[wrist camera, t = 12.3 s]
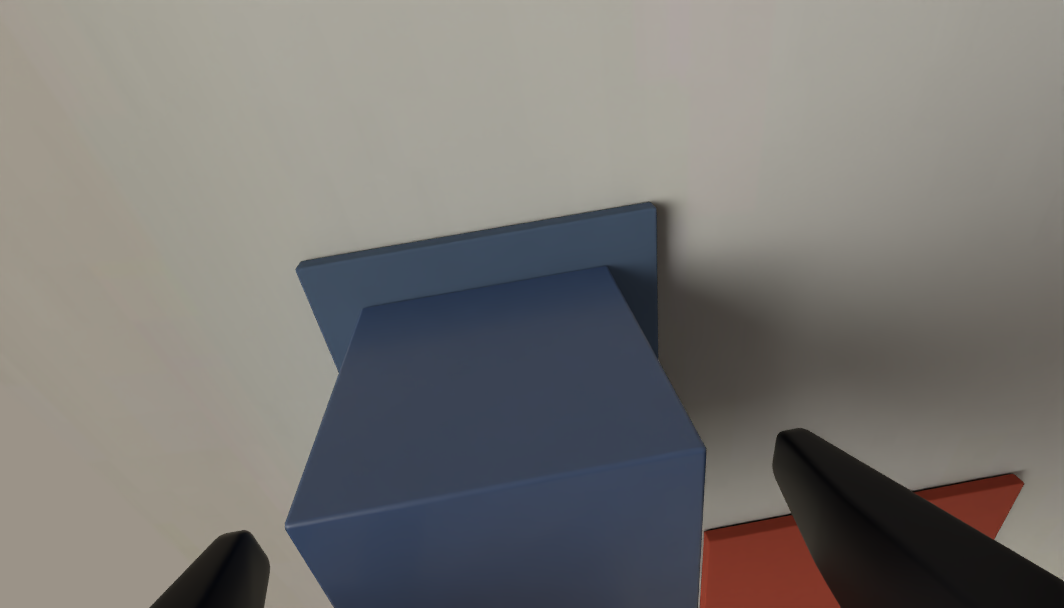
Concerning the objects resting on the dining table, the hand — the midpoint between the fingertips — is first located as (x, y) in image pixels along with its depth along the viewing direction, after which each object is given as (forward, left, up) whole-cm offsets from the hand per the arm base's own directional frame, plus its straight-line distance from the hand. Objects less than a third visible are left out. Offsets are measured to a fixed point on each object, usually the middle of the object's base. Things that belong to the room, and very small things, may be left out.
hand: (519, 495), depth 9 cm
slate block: (0, 0, -3) cm, 3 cm away
